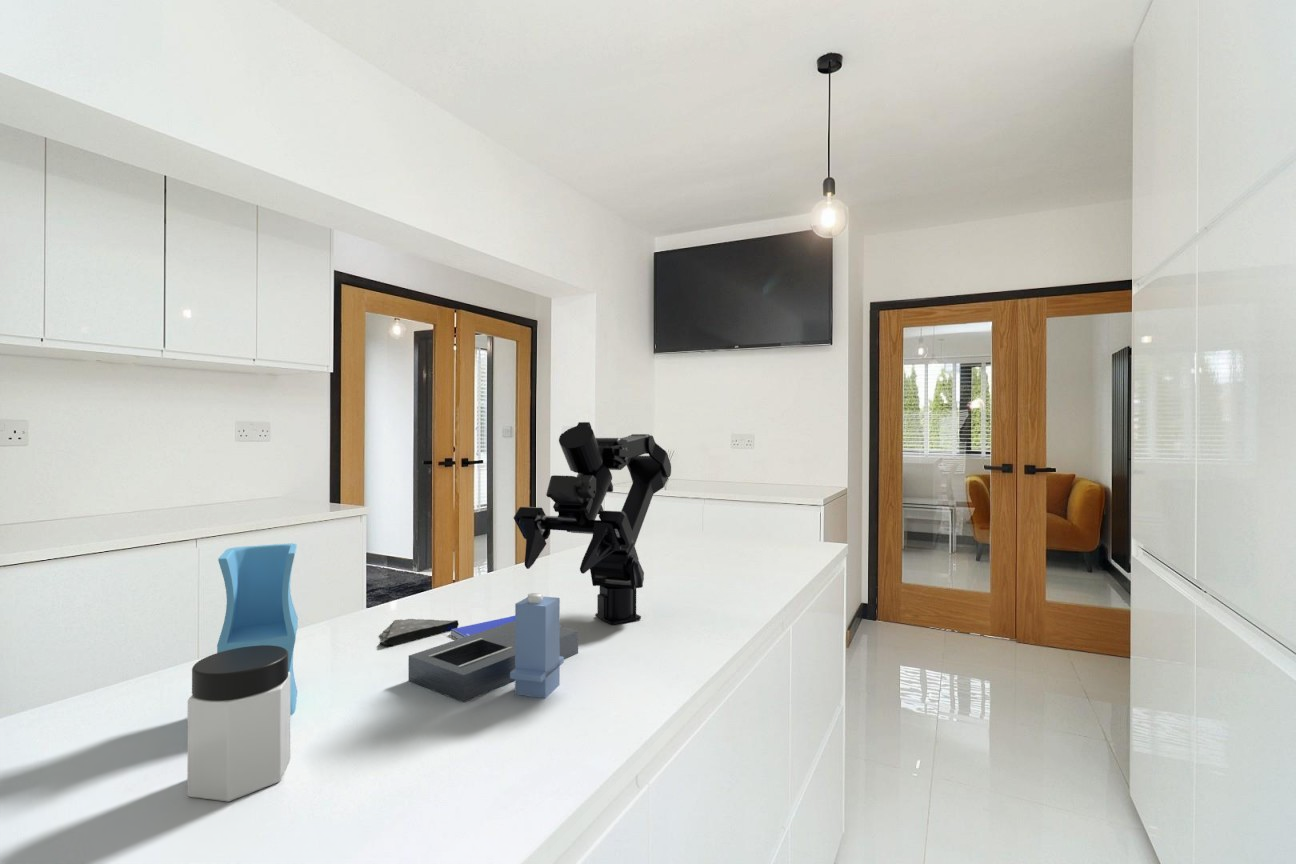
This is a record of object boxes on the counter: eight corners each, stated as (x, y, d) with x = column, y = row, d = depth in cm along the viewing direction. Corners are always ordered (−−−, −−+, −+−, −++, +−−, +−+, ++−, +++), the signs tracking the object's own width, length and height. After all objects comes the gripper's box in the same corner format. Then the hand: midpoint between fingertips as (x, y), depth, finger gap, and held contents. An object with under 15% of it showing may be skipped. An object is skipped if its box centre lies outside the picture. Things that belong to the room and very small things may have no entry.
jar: (275, 747, 68) (275, 638, 68) (305, 773, 63) (305, 655, 63) (175, 782, 61) (176, 661, 61) (200, 814, 56) (200, 682, 56)
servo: (535, 677, 88) (535, 585, 88) (563, 681, 86) (563, 588, 86) (510, 698, 81) (510, 599, 81) (540, 702, 79) (540, 601, 79)
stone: (385, 652, 99) (384, 638, 99) (359, 640, 106) (358, 626, 106) (459, 632, 109) (459, 619, 109) (431, 622, 116) (431, 610, 116)
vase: (216, 730, 72) (217, 558, 72) (226, 703, 79) (227, 547, 79) (294, 715, 76) (295, 552, 76) (297, 691, 83) (297, 542, 83)
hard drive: (472, 640, 100) (538, 624, 109) (450, 628, 106) (514, 614, 115) (472, 649, 100) (538, 633, 109) (450, 637, 106) (514, 622, 115)
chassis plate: (524, 638, 104) (525, 616, 104) (578, 652, 97) (578, 630, 97) (408, 680, 86) (408, 654, 86) (463, 702, 79) (463, 674, 79)
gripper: (522, 457, 101) (479, 530, 90) (628, 458, 95) (596, 537, 84) (544, 503, 108) (506, 577, 97) (644, 508, 102) (616, 587, 90)
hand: (553, 569), depth 92 cm, fingers open, 9 cm apart
